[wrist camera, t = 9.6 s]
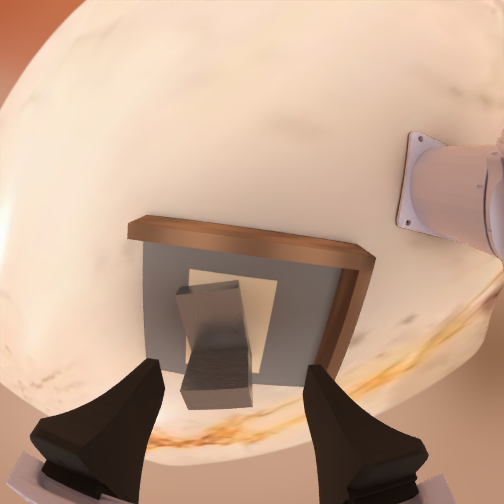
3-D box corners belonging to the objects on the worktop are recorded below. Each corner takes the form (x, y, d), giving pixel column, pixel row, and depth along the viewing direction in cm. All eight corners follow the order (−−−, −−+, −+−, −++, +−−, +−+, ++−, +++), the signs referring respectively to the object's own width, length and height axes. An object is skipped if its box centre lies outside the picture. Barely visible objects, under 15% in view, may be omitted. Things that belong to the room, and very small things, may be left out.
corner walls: (357, 244, 20) (376, 257, 16) (314, 384, 24) (321, 408, 20) (146, 215, 19) (128, 223, 16) (148, 364, 23) (137, 387, 19)
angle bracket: (251, 355, 22) (252, 406, 16) (200, 359, 22) (188, 409, 16) (238, 279, 20) (234, 321, 14) (180, 286, 20) (156, 328, 14)
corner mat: (357, 244, 20) (359, 246, 19) (314, 384, 24) (315, 387, 23) (146, 215, 19) (144, 215, 18) (148, 364, 23) (147, 367, 22)
